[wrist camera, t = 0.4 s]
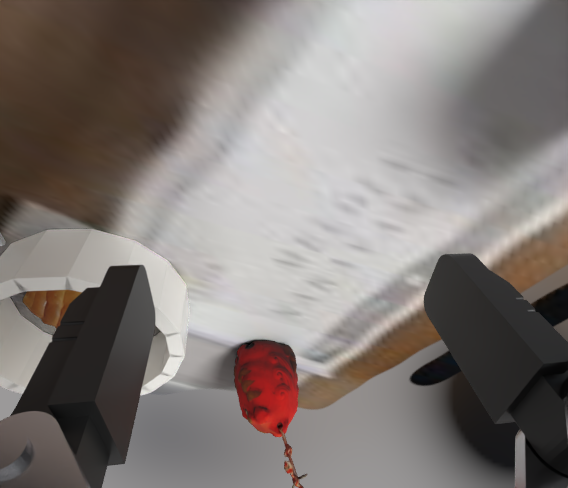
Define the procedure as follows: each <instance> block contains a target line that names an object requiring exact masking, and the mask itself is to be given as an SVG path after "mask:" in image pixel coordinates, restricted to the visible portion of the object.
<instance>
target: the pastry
mask: <svg viewBox="0 0 568 488" xmlns="http://www.w3.org/2000/svg"><path fill="white" fill-rule="evenodd" d="M81 293H82V292H78V291H73V290H47V291H27V292H26V294H25V296H24V298H23V303H24V304H25V305H26V306H27V307H28V308H29V310H30V311H31V312H32V313H33V314H34V315H36V316H38V317H39V318H41V319H42V321H43V323H45V324H48V325H52V326H55V327H56V329H57V327H58V326H60V321H61V319H62V318H63V316H64V314H65V312H66V310H67V308H68V306H69V304H70V303H71V302H72V301H73V300H74V299H75V298H76V297H78V296H79V295H80V294H81Z"/></svg>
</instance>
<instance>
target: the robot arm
mask: <svg viewBox="0 0 568 488" xmlns="http://www.w3.org/2000/svg"><path fill="white" fill-rule="evenodd" d="M424 307H425V311H426V313H427V315H428V317H429V319H430V320H431V322H432V324H433V325H434V327H435V328H436V330H437V332H438V333H439V335H440V336H441V338H442V340H443V341H444V343H445V344H446V346H447V348H448V349H449V351H450V353H451V354H452V356H453V357H454V359H455V361H456V362H457V364H458V365H459V367H460V369H461V370H462V372H463V373H464V375H465V377H466V378H467V380H468V381H469V383H470V384H471V386H472V388H473V389H474V391H475V393H476V394H477V396H478V397H479V399H480V401H481V402H482V404H483V405H484V407H485V409H486V410H487V412H488V413H489V415H490V417H491V418H492V420H493V421H494V423H495V424H499V423H508V422H516V423H517V425H518V426H519V427H520V430H519V432H518V433H517V435H516V440H515V488H568V342H567V341H566V340H565V339H564V338H563V337H562V336H561V335H560V334H559V333H558V332H557V331H556V330H555V329H554V328H553V327H552V326H551V325H550V324H549V323H548V322H547V321H546V320H545V319H544V318H543V317H542V316H541V315H540V314H539V313H538V312H535V308H534V307H533V306H532V305H531V304H530V303H529V302H528V301H527V300H523V296H522V295H521V294H520V293H519V292H518V291H517V290H516V289H515V288H514V287H513V286H512V285H511V284H510V283H509V282H507V281H506V280H504V279H503V278H501V277H500V276H498V275H496V274H495V273H493V272H492V271H490V270H489V269H488V268H487V267H486V266H485V265H484V264H483V263H482V262H481V261H480V260H479V259H478V258H477V257H476V256H475V255H473V254H469V253H468V254H445V255H442V256H441V257H440V258H439V260H438V262H437V264H436V267H435V269H434V272H433V274H432V277H431V279H430V282H429V284H428V287H427V289H426V292H425V295H424ZM154 331H155V307H154V303H153V298H152V294H151V290H150V285H149V281H148V277H147V272H146V269H145V267H144V265H119V266H110V267H109V268H108V270H107V272H106V274H105V277H104V279H103V281H102V283H101V286H100V287H92V288H86V289H85V290H84V291H83V292H82V293H81V294H80V295H79V296H78V297H76V298H75V299H74V300H73V301H72V302H71V303H70V304H69V306H68V308H67V310H66V312H65V314H64V316H63V318H62V319H61V321H60V326H58V327H57V329H56V331H55V333H54V335H53V337H52V342H50V343H49V344H48V346H47V348H46V350H45V352H44V354H43V356H42V358H41V360H40V362H39V364H38V366H37V368H36V369H35V371H34V373H33V375H32V377H31V379H30V381H29V383H28V385H27V387H26V389H25V391H24V393H23V394H22V397H21V399H20V400H19V402H18V404H17V406H16V408H15V409H14V411H13V413H12V414H11V415H10V417H7V418H5V419H3V420H1V421H0V488H102V484H103V480H104V476H105V472H106V469H107V466H109V465H118V464H125V461H126V456H127V452H128V447H129V442H130V438H131V434H132V429H133V425H134V420H135V416H136V411H137V407H138V403H139V398H140V394H141V389H142V385H143V380H144V376H145V371H146V367H147V362H148V358H149V353H150V349H151V344H152V340H153V335H154Z"/></svg>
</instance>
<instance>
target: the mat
mask: <svg viewBox="0 0 568 488" xmlns="http://www.w3.org/2000/svg"><path fill="white" fill-rule="evenodd" d="M5 243H6V242H5V240H4V238H3V236H2V234H1V232H0V246H4V245H5Z"/></svg>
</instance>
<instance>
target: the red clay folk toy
mask: <svg viewBox="0 0 568 488" xmlns="http://www.w3.org/2000/svg"><path fill="white" fill-rule="evenodd" d="M237 355H238V356H237V358H236V360H235V364H236V365H235V367H234V376H235V379H234V383H235V387H236V389H237V394H238V397H239V402H240V407H241V410H242V415H243V417H244V418H246V419H247V420H248V421H249V423H251V424H252V425H253V426H254V427H255V428H256V429H257V430H258V431H260V432H263V433H271V434H273V436H275V437H281V436H282V438H283V441H284V444H285V447H286V449H285V452H284V455H285V457H288V458H289V460H290V462H289V461H285V462H284V464H285V465H284V469H285V470H286V472H287V473H290V475H291V476H292V478H293V479H292V480H293V483H294V485H293V486H292V488H294V487H295V486H297V487H299V488H303V486H302V485H300V483H299V479H302V478H304V477H306V476H307V474H305V475H302V476H301V477H298V476H297V473H296V471H295V467H294V464H293V461H292V459H291V455H292V448H291V446H289V445H288V444H287V441H286V438H285V433H286V431H287V427H288V425H289V423H290V422H291V420H292V419H293V417H294V415H295V413H296V411H297V406H298V399H297V398H298V392H299V388H298V385H297V381H298V377H297V373H296V366H297V364H296V358H295V354H294V352H293V350H292V349H291V347H290V346H289V345H285V344H279V343H277V342H275V341H268V340H262V341H258V340H257V341H253V342H252V343H251V344H250V346H249V345H248V344H245V345H242V346H241V347H240V348H239V349H238V351H237Z"/></svg>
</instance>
